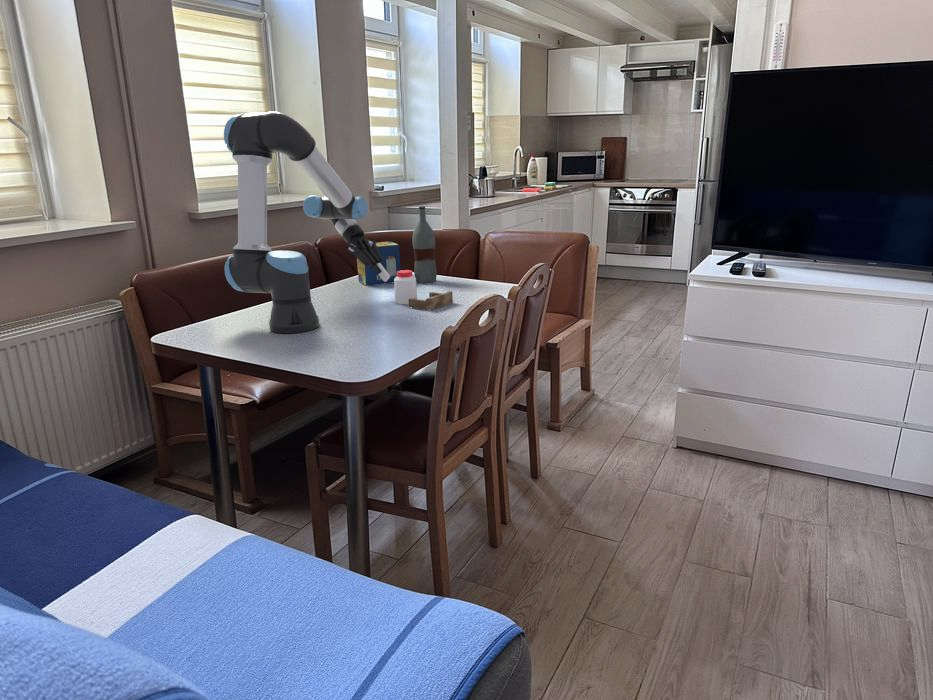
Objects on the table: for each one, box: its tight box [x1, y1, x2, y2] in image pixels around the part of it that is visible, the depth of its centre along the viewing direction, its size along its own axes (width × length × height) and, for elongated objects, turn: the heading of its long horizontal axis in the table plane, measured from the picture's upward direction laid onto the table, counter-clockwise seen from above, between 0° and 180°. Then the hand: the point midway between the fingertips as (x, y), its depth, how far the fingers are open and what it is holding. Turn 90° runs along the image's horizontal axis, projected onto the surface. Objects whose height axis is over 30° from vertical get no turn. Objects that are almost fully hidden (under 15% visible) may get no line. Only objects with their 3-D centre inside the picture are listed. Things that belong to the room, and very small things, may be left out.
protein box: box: [356, 241, 401, 287], centre depth 269 cm, size 10×15×16 cm
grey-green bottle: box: [412, 206, 438, 285], centre depth 263 cm, size 9×9×30 cm
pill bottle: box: [393, 269, 418, 305], centre depth 232 cm, size 8×8×11 cm
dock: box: [408, 290, 454, 311], centre depth 226 cm, size 13×9×4 cm
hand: (387, 279), depth 237 cm, fingers closed
